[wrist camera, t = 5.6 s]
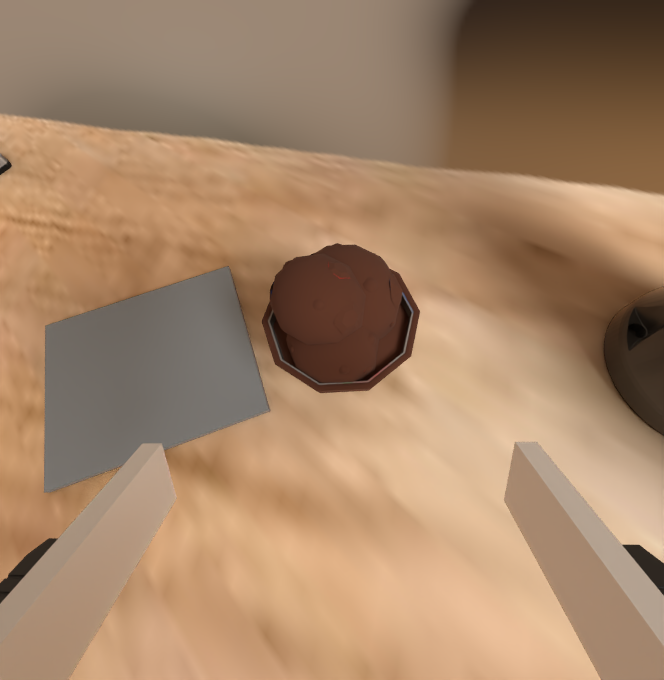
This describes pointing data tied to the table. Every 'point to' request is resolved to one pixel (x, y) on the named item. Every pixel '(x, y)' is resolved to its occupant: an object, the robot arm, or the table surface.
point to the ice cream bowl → (340, 319)
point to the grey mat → (146, 376)
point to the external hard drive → (4, 164)
